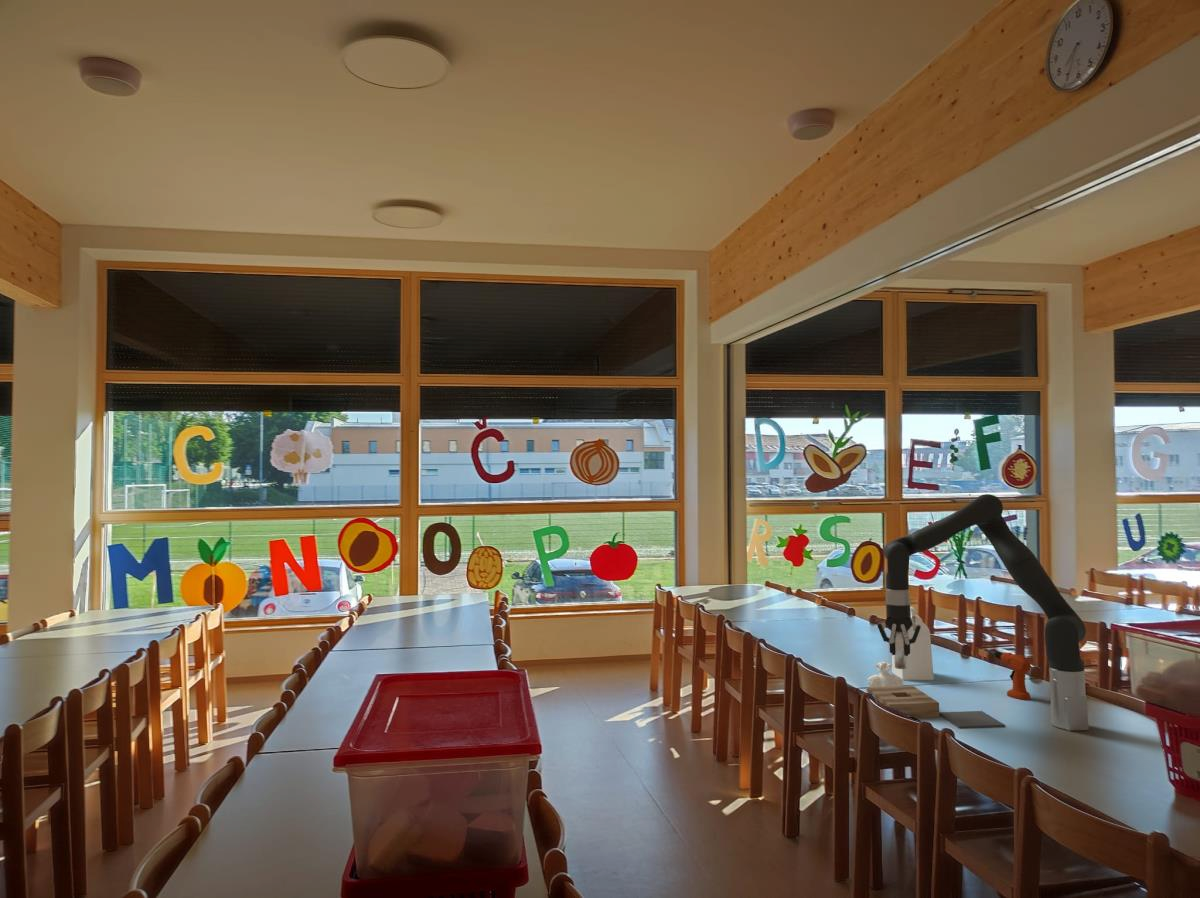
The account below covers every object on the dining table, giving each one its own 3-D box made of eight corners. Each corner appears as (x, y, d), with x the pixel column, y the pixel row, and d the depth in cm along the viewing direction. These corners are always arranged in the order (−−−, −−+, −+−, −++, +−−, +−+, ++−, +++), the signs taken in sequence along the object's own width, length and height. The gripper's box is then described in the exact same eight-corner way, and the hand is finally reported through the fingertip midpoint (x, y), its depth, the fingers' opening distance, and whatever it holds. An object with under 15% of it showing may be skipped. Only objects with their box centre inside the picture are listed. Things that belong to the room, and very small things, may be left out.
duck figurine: (902, 698, 278) (896, 667, 285) (906, 689, 272) (900, 658, 280) (867, 697, 280) (862, 667, 287) (871, 689, 274) (865, 658, 281)
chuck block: (939, 717, 249) (939, 702, 249) (889, 718, 249) (888, 704, 249) (913, 699, 269) (913, 685, 269) (866, 700, 269) (866, 687, 269)
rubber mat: (1004, 726, 238) (1004, 724, 238) (959, 728, 238) (958, 726, 238) (981, 712, 252) (981, 710, 252) (938, 714, 252) (938, 712, 252)
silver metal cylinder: (908, 668, 258) (906, 631, 258) (897, 669, 258) (895, 632, 258) (903, 666, 261) (902, 629, 262) (893, 666, 261) (891, 630, 262)
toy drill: (987, 681, 283) (990, 640, 282) (1033, 701, 266) (1036, 658, 265) (977, 683, 281) (980, 642, 280) (1022, 703, 264) (1026, 659, 263)
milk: (891, 672, 305) (889, 604, 306) (922, 671, 305) (919, 604, 306) (902, 680, 293) (899, 609, 294) (933, 679, 293) (931, 609, 294)
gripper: (921, 601, 261) (923, 654, 260) (876, 599, 266) (878, 651, 266) (920, 605, 254) (922, 659, 253) (874, 603, 260) (876, 656, 259)
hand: (900, 654), depth 260 cm, fingers closed on silver metal cylinder, 3 cm apart
